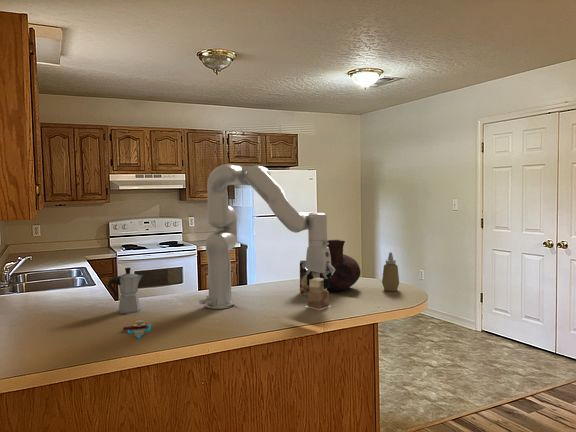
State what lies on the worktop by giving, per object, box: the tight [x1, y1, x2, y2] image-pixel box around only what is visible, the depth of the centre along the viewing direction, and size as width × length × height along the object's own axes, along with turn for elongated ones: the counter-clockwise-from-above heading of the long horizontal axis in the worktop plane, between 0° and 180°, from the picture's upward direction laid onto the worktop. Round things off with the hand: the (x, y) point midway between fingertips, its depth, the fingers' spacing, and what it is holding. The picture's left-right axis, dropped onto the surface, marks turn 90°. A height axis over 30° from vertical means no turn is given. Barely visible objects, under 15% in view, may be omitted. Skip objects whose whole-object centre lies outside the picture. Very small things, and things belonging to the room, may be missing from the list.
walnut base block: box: [307, 291, 330, 310], centre depth 188 cm, size 6×6×6 cm
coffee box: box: [299, 260, 320, 296], centre depth 210 cm, size 9×6×16 cm
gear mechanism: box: [122, 315, 152, 339], centre depth 166 cm, size 20×5×9 cm
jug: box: [320, 239, 361, 292], centre depth 224 cm, size 25×25×25 cm
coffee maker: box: [107, 267, 143, 315], centre depth 190 cm, size 15×9×18 cm, turn 134°
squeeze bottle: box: [381, 251, 400, 292], centre depth 219 cm, size 8×8×18 cm
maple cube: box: [309, 278, 327, 294], centre depth 188 cm, size 5×5×5 cm
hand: (318, 286), depth 188 cm, fingers open, 8 cm apart
